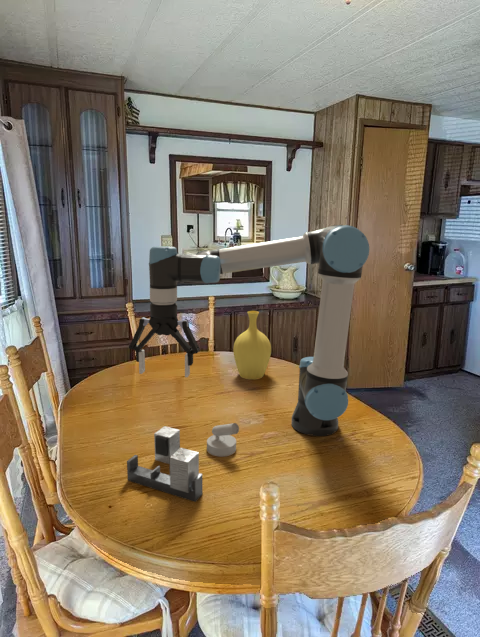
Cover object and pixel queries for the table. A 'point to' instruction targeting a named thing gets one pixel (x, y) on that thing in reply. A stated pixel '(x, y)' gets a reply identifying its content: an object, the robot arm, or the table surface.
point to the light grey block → (166, 443)
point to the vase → (252, 350)
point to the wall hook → (222, 440)
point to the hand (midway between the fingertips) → (164, 374)
